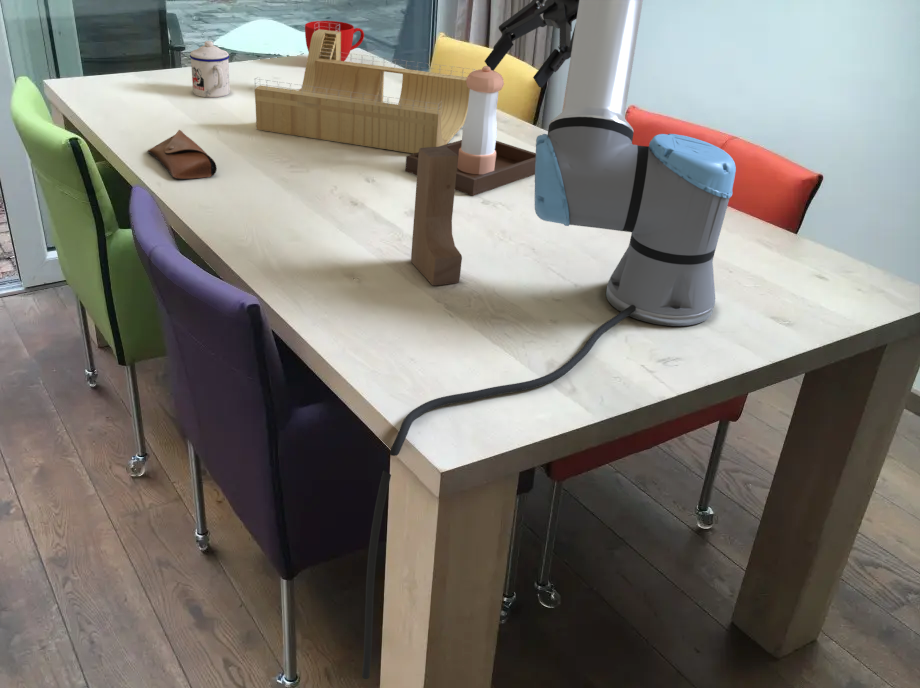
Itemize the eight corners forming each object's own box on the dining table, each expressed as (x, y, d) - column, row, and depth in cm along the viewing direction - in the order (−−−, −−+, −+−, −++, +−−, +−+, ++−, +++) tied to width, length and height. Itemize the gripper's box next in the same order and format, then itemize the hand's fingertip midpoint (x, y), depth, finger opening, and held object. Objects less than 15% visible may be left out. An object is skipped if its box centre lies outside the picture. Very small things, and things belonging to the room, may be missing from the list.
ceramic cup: (374, 67, 244) (375, 28, 239) (318, 72, 237) (318, 32, 231) (351, 56, 254) (352, 18, 248) (296, 61, 246) (296, 22, 241)
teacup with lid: (187, 89, 217) (183, 38, 210) (223, 86, 221) (220, 36, 214) (203, 102, 208) (200, 49, 202) (240, 99, 212) (238, 47, 205)
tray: (472, 196, 166) (474, 179, 164) (405, 171, 175) (406, 155, 174) (543, 171, 179) (545, 156, 177) (477, 149, 189) (478, 134, 187)
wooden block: (460, 283, 135) (472, 165, 125) (432, 286, 133) (442, 167, 123) (436, 259, 141) (446, 145, 132) (409, 262, 140) (417, 147, 130)
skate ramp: (255, 134, 193) (252, 55, 184) (318, 91, 221) (318, 21, 212) (434, 161, 183) (440, 80, 174) (477, 113, 211) (484, 41, 202)
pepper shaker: (449, 166, 177) (458, 64, 167) (475, 159, 181) (486, 60, 171) (475, 177, 173) (487, 73, 162) (502, 170, 177) (514, 68, 166)
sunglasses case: (143, 149, 177) (158, 118, 175) (174, 163, 181) (189, 133, 180) (173, 179, 164) (189, 145, 162) (206, 193, 169) (222, 161, 167)
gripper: (639, 9, 165) (567, 103, 165) (543, -13, 181) (478, 72, 182) (625, -21, 159) (551, 76, 160) (527, -41, 176) (460, 47, 176)
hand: (512, 74), depth 171 cm, fingers open, 13 cm apart
